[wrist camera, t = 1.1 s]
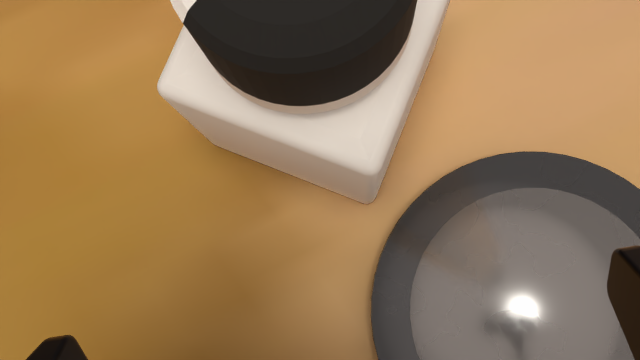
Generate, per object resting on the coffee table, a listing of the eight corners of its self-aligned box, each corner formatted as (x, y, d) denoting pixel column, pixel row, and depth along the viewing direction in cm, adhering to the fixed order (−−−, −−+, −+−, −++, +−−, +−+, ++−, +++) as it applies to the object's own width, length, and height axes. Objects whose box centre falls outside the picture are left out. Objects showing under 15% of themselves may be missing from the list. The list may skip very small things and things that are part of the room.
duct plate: (746, 244, 23) (766, 243, 21) (615, 547, 21) (629, 562, 20) (455, 106, 24) (459, 97, 23) (316, 379, 23) (313, 384, 22)
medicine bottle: (435, 47, 25) (504, -165, 13) (372, 208, 24) (383, 138, 12) (276, -9, 26) (203, -257, 14) (209, 144, 25) (70, 19, 13)
